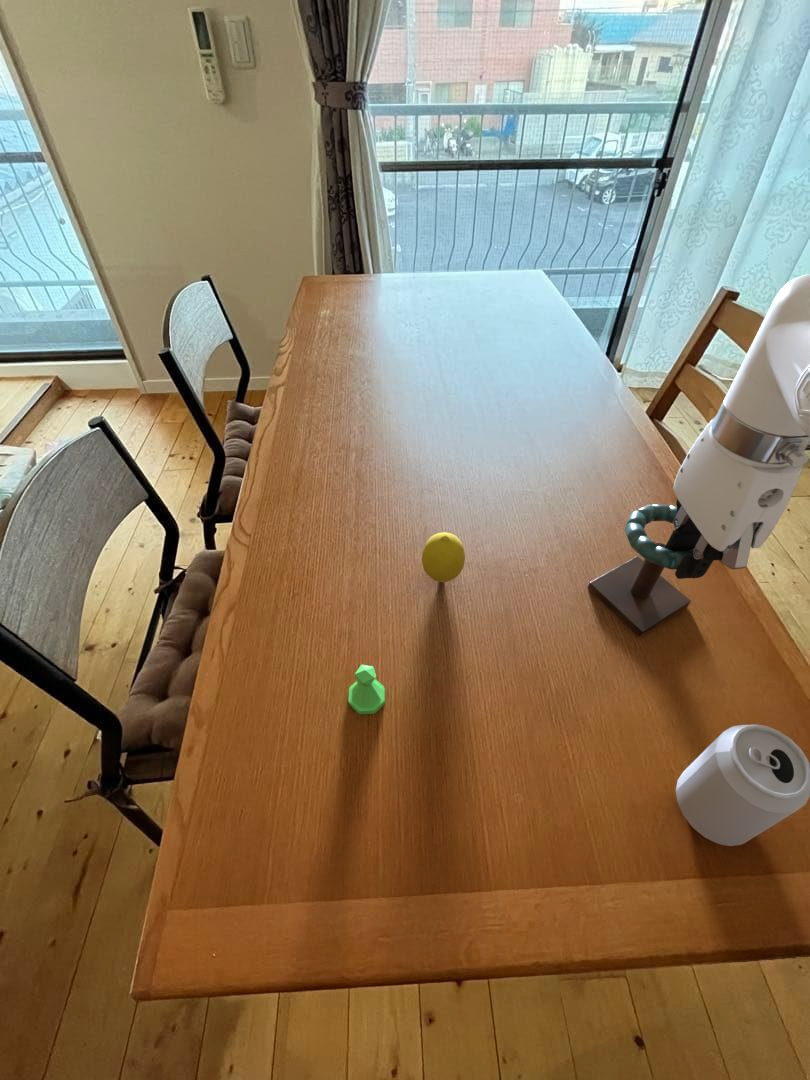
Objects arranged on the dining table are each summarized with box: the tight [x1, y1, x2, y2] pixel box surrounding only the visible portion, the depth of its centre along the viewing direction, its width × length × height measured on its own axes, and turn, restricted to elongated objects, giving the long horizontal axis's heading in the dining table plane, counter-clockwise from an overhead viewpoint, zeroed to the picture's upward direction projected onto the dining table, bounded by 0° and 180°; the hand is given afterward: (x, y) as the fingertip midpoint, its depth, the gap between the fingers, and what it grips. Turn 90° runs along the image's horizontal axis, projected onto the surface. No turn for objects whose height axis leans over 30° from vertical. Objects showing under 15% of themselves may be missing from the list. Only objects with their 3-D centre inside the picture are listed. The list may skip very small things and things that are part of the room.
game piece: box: [348, 664, 386, 715], centre depth 60 cm, size 4×4×6 cm
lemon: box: [421, 531, 466, 583], centre depth 71 cm, size 6×6×8 cm
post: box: [587, 542, 692, 638], centre depth 69 cm, size 9×9×9 cm
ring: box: [624, 504, 694, 570], centre depth 64 cm, size 10×10×2 cm
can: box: [675, 723, 810, 847], centre depth 50 cm, size 8×8×12 cm
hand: (682, 564), depth 62 cm, fingers closed on ring, 2 cm apart
